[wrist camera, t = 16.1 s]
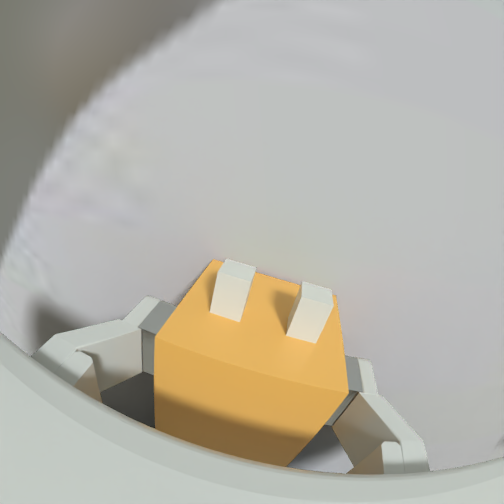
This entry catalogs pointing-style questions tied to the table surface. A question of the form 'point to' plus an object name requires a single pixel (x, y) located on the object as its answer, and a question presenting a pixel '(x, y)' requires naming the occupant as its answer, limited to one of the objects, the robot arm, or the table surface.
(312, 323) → the plug
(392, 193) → the table surface
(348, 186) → the table surface
